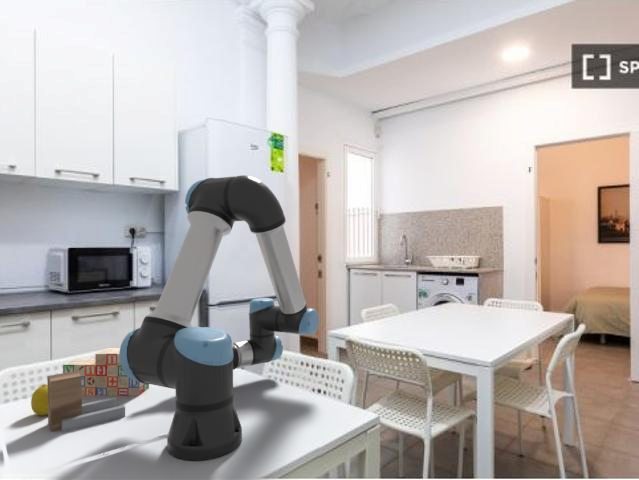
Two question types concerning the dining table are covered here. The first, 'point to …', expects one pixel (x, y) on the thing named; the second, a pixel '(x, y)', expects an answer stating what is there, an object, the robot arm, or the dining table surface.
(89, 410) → the chute
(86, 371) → the stack of blocks
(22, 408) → the dining table surface
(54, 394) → the block
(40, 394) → the lemon
